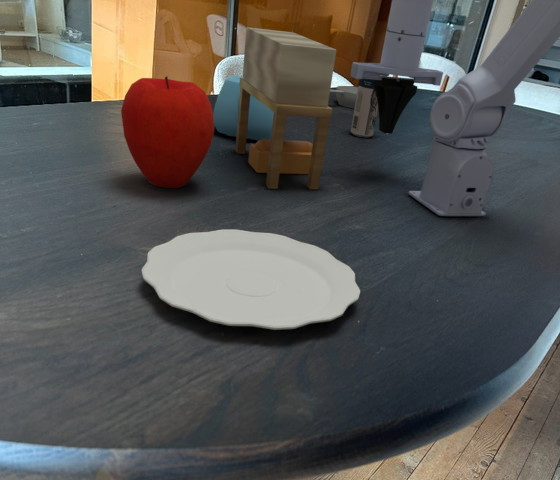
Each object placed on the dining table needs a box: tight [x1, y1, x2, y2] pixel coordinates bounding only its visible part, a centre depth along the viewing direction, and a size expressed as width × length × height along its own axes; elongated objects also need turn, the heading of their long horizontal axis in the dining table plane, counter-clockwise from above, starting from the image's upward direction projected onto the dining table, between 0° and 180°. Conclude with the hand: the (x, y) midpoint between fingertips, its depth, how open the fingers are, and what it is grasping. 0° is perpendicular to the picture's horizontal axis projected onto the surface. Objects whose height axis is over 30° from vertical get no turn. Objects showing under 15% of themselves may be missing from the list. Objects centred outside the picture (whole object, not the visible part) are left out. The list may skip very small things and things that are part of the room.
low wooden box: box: [248, 139, 313, 175], centre depth 92 cm, size 5×10×4 cm, turn 108°
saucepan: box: [330, 85, 359, 109], centre depth 144 cm, size 11×18×4 cm, turn 130°
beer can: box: [350, 75, 382, 138], centre depth 117 cm, size 5×5×12 cm
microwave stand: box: [235, 26, 337, 190], centre depth 88 cm, size 19×8×18 cm, turn 18°
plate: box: [141, 229, 361, 331], centre depth 58 cm, size 21×21×2 cm
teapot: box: [213, 75, 274, 142], centre depth 107 cm, size 13×11×18 cm
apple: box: [120, 75, 215, 189], centre depth 77 cm, size 12×12×13 cm
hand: (385, 131), depth 93 cm, fingers closed
